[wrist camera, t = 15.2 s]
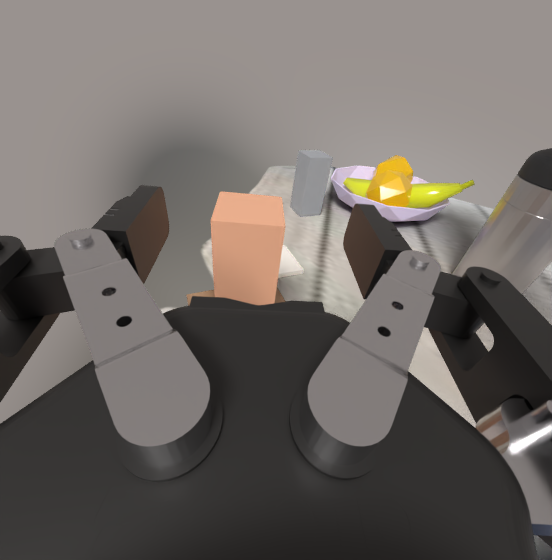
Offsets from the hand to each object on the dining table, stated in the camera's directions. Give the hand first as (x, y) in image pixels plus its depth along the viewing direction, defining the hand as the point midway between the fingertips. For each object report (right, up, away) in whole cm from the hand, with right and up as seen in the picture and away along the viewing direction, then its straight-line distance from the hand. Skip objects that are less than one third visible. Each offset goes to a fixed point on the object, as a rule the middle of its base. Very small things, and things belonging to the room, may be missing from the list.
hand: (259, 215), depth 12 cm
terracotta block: (-2, -7, +16) cm, 18 cm away
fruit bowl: (+27, +14, +54) cm, 62 cm away
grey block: (+7, +13, +49) cm, 51 cm away
